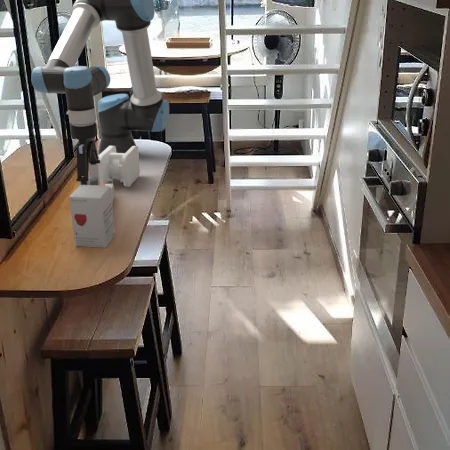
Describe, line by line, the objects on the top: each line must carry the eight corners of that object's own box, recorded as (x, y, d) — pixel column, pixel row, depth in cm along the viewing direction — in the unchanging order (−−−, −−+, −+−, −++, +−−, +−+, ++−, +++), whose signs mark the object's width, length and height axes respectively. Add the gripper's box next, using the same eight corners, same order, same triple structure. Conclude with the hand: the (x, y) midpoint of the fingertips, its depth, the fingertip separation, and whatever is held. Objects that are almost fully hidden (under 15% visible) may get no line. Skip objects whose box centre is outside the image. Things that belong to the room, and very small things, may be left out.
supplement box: (74, 246, 167) (67, 196, 160) (85, 232, 175) (79, 184, 168) (106, 248, 165) (100, 197, 159) (116, 234, 173) (111, 185, 167)
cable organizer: (127, 191, 203) (124, 158, 198) (97, 189, 205) (94, 157, 200) (141, 175, 216) (138, 144, 211) (112, 174, 218) (109, 143, 213)
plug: (98, 206, 187) (94, 174, 183) (103, 211, 184) (99, 179, 179) (83, 209, 185) (79, 177, 181) (88, 215, 182) (84, 182, 177)
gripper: (78, 112, 184) (86, 178, 193) (59, 135, 162) (69, 209, 171) (103, 111, 184) (110, 177, 193) (87, 135, 162) (96, 208, 171)
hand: (91, 192), depth 182 cm, fingers open, 12 cm apart
